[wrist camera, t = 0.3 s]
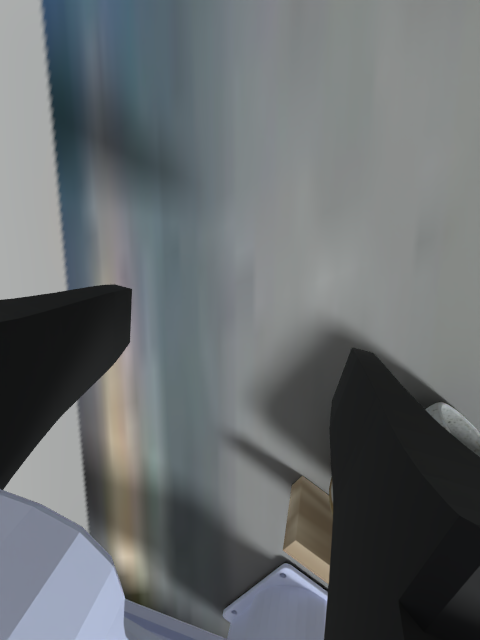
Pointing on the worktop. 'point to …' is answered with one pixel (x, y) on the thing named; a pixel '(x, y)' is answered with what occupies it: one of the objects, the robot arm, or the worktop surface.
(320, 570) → the brown wooden pieces
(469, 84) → the worktop surface
